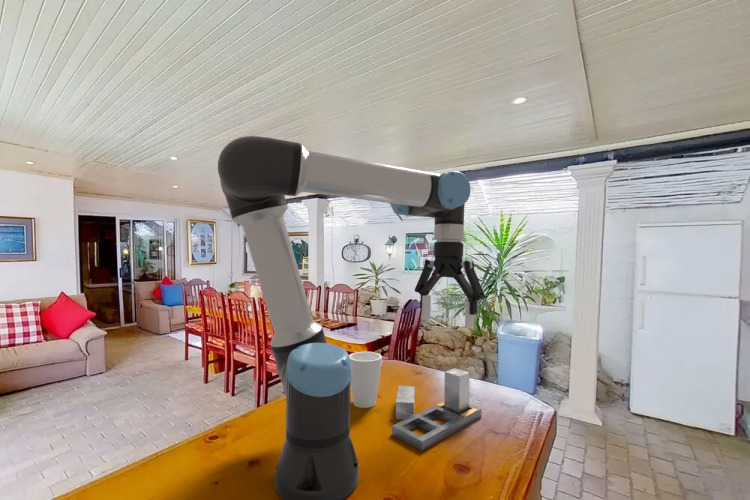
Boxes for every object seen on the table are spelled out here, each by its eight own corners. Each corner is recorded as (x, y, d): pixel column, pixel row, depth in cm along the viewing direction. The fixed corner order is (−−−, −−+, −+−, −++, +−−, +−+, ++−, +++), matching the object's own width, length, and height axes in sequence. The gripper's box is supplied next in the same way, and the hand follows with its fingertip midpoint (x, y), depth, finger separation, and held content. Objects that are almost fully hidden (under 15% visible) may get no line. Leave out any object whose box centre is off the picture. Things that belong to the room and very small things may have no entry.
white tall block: (459, 420, 86) (459, 376, 86) (444, 414, 89) (444, 371, 89) (469, 415, 89) (469, 372, 89) (454, 409, 92) (454, 368, 92)
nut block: (413, 421, 86) (413, 403, 86) (395, 419, 87) (396, 401, 87) (414, 402, 97) (414, 386, 97) (398, 401, 98) (398, 385, 98)
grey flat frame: (422, 451, 73) (422, 440, 73) (391, 434, 79) (391, 425, 79) (481, 416, 89) (481, 407, 89) (452, 405, 95) (452, 397, 95)
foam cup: (382, 397, 100) (383, 352, 100) (380, 411, 91) (380, 362, 91) (350, 395, 101) (351, 351, 101) (344, 409, 92) (345, 360, 92)
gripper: (500, 241, 83) (498, 329, 82) (421, 243, 101) (419, 315, 101) (484, 239, 78) (482, 333, 77) (403, 241, 96) (401, 317, 96)
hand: (446, 323), depth 89 cm, fingers open, 13 cm apart
